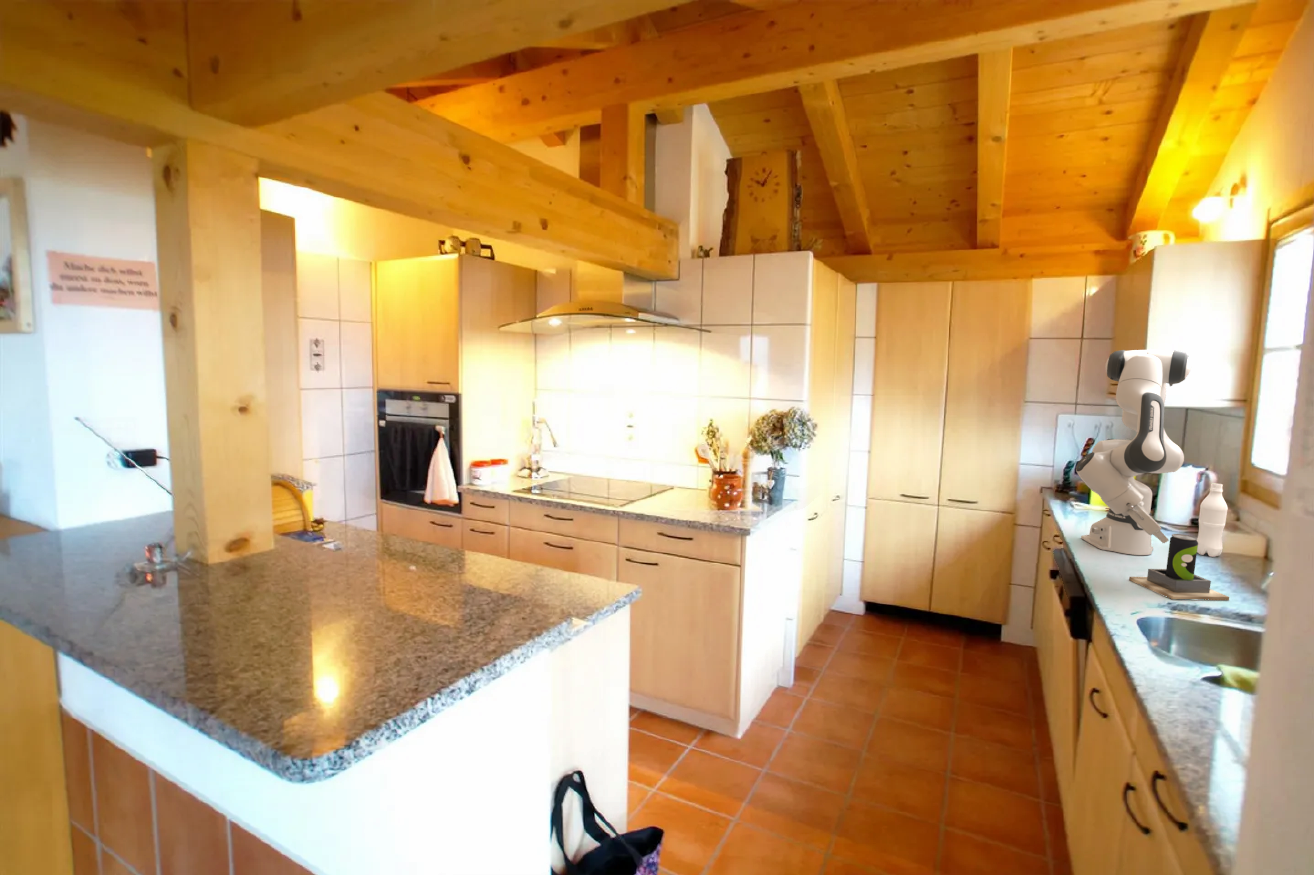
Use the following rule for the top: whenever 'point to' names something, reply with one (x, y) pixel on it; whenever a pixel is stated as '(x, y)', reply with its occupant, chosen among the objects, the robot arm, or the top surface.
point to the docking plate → (1163, 591)
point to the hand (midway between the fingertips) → (1162, 537)
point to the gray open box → (1178, 582)
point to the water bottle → (1212, 522)
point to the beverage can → (1182, 557)
